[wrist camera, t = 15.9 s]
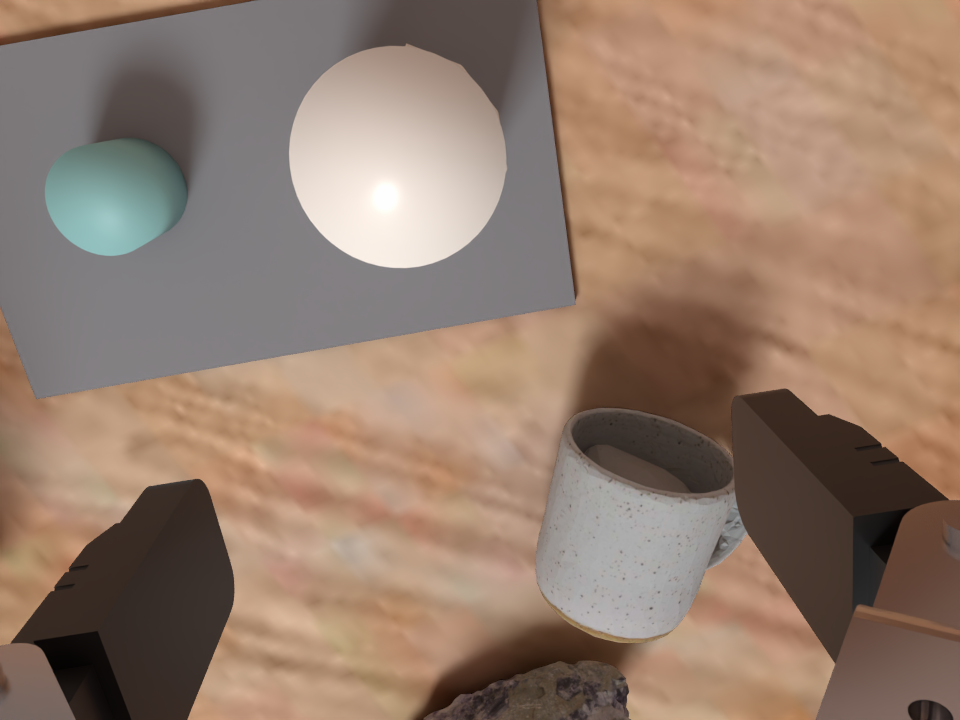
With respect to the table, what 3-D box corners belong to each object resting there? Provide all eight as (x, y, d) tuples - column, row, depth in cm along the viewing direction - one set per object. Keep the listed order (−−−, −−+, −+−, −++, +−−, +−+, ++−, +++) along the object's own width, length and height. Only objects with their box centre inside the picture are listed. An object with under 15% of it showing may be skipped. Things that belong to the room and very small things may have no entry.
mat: (529, -47, 30) (530, -49, 30) (574, 302, 35) (575, 304, 35) (-88, 62, 30) (-95, 62, 30) (40, 395, 35) (35, 399, 35)
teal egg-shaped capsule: (170, 129, 31) (139, 135, 28) (199, 229, 33) (172, 245, 29) (71, 147, 31) (28, 155, 28) (104, 245, 33) (66, 264, 29)
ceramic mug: (519, 549, 39) (542, 656, 32) (551, 396, 36) (583, 476, 29) (721, 569, 40) (788, 677, 33) (767, 424, 38) (849, 506, 30)
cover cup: (472, 41, 31) (487, 26, 22) (498, 204, 33) (521, 247, 24) (310, 71, 31) (264, 68, 22) (348, 232, 33) (318, 285, 24)
